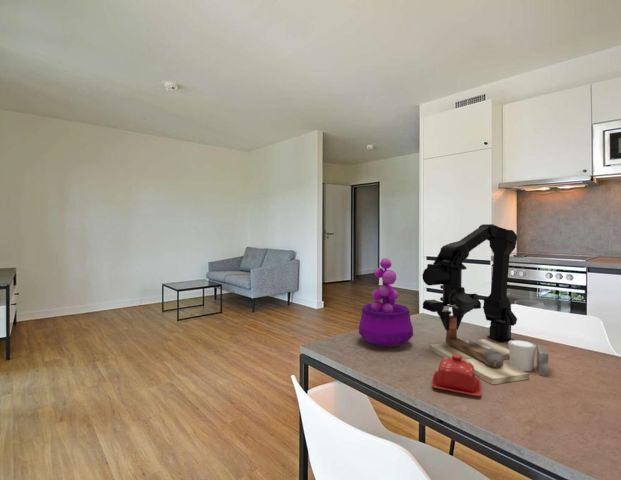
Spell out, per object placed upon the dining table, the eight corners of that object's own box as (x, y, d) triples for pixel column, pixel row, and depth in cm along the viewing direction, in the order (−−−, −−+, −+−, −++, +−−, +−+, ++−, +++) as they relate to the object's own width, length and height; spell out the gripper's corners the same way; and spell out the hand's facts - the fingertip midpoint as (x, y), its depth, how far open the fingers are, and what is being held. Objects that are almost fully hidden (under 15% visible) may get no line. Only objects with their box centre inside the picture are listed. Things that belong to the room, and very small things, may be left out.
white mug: (541, 372, 97) (541, 347, 97) (516, 371, 97) (516, 347, 97) (526, 362, 104) (526, 339, 104) (503, 362, 104) (503, 339, 104)
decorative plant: (424, 346, 118) (425, 258, 117) (383, 356, 109) (383, 261, 108) (386, 331, 135) (387, 255, 134) (348, 339, 126) (348, 257, 125)
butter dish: (480, 381, 92) (481, 350, 91) (481, 401, 81) (482, 366, 81) (434, 374, 97) (435, 344, 96) (430, 392, 86) (430, 358, 86)
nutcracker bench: (488, 342, 122) (489, 325, 122) (563, 374, 96) (564, 352, 96) (429, 349, 115) (429, 331, 115) (492, 384, 89) (492, 361, 89)
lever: (507, 365, 97) (508, 333, 96) (493, 367, 95) (493, 335, 95) (455, 341, 118) (455, 314, 117) (442, 342, 116) (442, 315, 116)
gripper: (443, 288, 104) (442, 340, 105) (494, 286, 109) (493, 334, 110) (422, 283, 115) (421, 329, 116) (469, 280, 120) (468, 325, 121)
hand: (451, 330), depth 115 cm, fingers closed on lever, 3 cm apart
